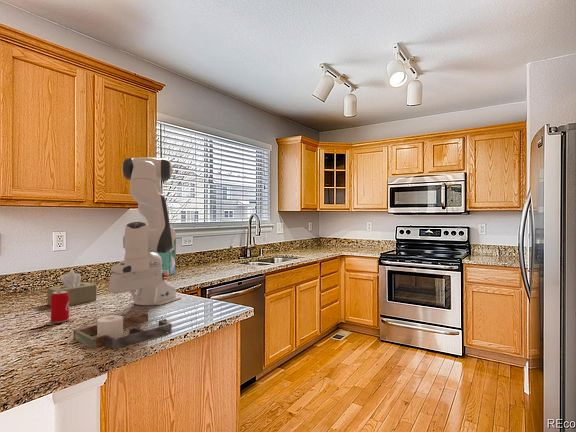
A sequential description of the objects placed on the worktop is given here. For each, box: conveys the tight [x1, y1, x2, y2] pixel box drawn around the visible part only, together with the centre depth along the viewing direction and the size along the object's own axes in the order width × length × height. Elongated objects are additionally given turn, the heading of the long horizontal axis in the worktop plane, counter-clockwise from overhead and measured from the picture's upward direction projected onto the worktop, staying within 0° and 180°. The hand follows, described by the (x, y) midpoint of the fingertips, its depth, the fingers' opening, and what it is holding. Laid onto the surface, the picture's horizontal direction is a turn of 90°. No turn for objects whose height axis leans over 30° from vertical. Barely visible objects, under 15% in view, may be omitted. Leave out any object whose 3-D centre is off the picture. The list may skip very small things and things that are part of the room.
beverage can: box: [50, 291, 70, 324], centre depth 143 cm, size 6×6×12 cm
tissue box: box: [46, 269, 97, 307], centre depth 172 cm, size 19×10×16 cm, turn 145°
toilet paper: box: [96, 314, 124, 339], centre depth 127 cm, size 8×11×7 cm
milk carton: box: [157, 238, 177, 276], centre depth 251 cm, size 9×9×25 cm
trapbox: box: [73, 312, 173, 350], centre depth 129 cm, size 28×20×3 cm
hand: (137, 300), depth 136 cm, fingers closed
